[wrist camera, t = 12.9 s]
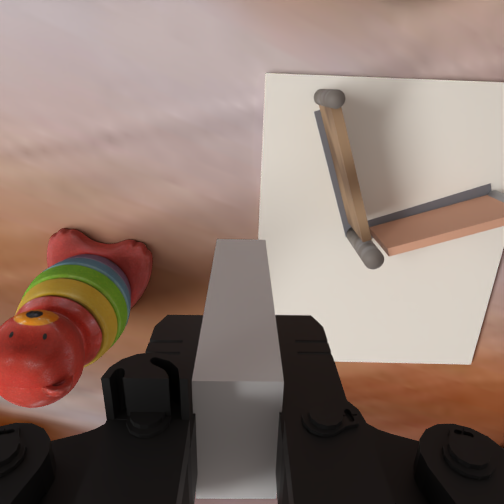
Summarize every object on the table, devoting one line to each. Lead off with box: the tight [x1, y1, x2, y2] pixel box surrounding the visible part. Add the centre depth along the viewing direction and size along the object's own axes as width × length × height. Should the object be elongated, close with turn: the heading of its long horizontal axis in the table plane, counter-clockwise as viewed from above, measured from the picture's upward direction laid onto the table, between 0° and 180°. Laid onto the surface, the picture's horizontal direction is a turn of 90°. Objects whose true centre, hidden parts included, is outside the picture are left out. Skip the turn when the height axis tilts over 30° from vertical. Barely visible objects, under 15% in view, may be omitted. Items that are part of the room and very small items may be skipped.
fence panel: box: [369, 190, 504, 256], centre depth 39 cm, size 13×1×7 cm, turn 106°
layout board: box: [258, 73, 504, 364], centre depth 43 cm, size 31×26×1 cm
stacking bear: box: [0, 228, 153, 408], centre depth 37 cm, size 11×10×18 cm
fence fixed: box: [314, 89, 384, 269], centre depth 37 cm, size 16×2×7 cm, turn 18°
